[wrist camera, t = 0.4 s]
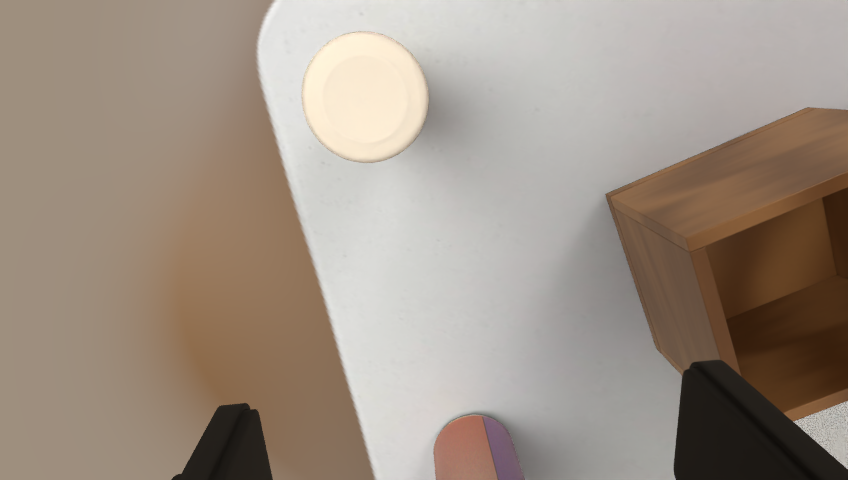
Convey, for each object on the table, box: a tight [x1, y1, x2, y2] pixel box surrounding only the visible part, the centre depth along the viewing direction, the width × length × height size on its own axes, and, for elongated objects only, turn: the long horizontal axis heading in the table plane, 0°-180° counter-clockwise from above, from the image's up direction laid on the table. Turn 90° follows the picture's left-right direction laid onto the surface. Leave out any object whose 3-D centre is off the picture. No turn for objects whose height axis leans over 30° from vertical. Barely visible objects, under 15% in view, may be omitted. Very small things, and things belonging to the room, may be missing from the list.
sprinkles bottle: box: [302, 31, 429, 163], centre depth 24 cm, size 5×5×13 cm
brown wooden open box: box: [606, 107, 848, 421], centre depth 30 cm, size 14×13×10 cm
